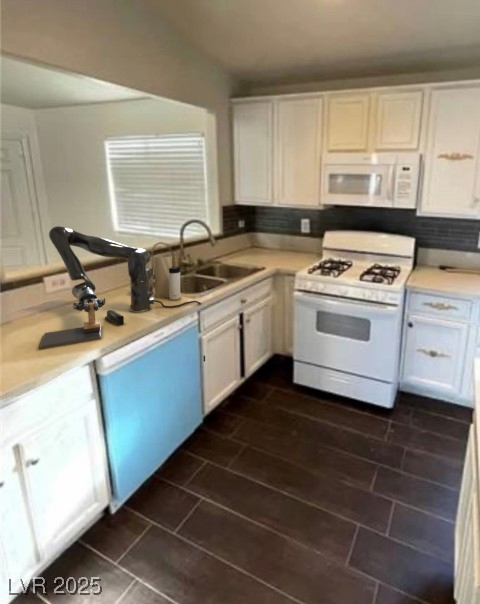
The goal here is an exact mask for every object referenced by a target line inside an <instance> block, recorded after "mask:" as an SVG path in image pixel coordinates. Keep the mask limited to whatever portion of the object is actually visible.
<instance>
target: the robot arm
mask: <svg viewBox="0 0 480 604" xmlns="http://www.w3.org/2000/svg"><path fill="white" fill-rule="evenodd" d="M48 238H49V240H50V241H51V243H52V245H53V246H54V248H55V249H56V251H57V253H58V254H59V256H60V258H61V260H62V262H63V264H64V266H65V268H66V271H67V273H68V275H69V278H70V280H71V281H73V282H75V281H83V282H80V283H78V284H75V285H74V286H73V287H72V288H71V295H73V297H74V298H75V299H77V302H73V303H72V308H73V310H76V311H80V312H82V311H84V312H85V313H87V314H88V312H89V307H88V303H94V306H95V312H97V311H98V310H99V309H100V308H101V309H102V308H103V307H104V305H105V304H106V297H105V298H104V297H103V298H101V299H100V298H98V296H97V294H96V293H95V292H96V285H95V283H94V282H93V281H92V279H90V278H89V276H88V275H87V273H86V271H85V269H84V266H83V264H82V262H81V260H80V259H79V258H78V256H77V255H76V253H75V252H74V251H73V249H72V247H77V248H79V249H82V250H84V251H86V252H88V253H90V254H93V255H97V256H100V257H104V258H111V259H112V258H113V259H124V260H127V272H128V276H129V282H130V284H129V286H130V287H129V289H130V311H131V312H132V313H143V312H147V311H150V310H151V305H155V303H157V304H160V305H161V307H163V308H167V309H173V308H179V307H182V306H184V305H189V304H192V303H197V304H198V305H201V304H202V303H201V302H200V301H199V300H190V301H185V302H182V303H180V304H175V305H165V304H164V303H163V302H162V301H160V300H156V299H154V297H151V295H150V293H149V274H148V273H146V268H147V265H148V264H149V263H150V262H151V258H152V256H151V253H150V252H149V251H147V250H146V249H143V248H139V247H133V246H128V245H125V244H121V243H119V242H116V241H113V240H109V239H106V238H102V237H99V236H94V235H87V234H85V233H82V232H78V231H76V230H74V229H72V228H69V227H66V226H61V225H57V226H54V227H52V228H50V230H49V233H48ZM71 246H72V247H71ZM203 362H206V355H203Z"/></svg>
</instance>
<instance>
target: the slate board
mask: <svg viewBox="0 0 480 604" xmlns="http://www.w3.org/2000/svg"><path fill="white" fill-rule="evenodd" d="M101 331H102V326H101V324H100V331H96V332H89V333H84V326H82V327H75V328H69V329H62V330H55V331H54V330H53V331H49V332H44V334H43V336H42V338H41V343H40V345H39V349H40V350H44V349H50V348H56V347H63V346H67V345H74V344H79V343H85V342H92V341H97V340H101V334H102V333H101Z"/></svg>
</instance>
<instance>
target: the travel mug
mask: <svg viewBox="0 0 480 604" xmlns="http://www.w3.org/2000/svg"><path fill="white" fill-rule="evenodd" d="M169 296H170V297H168V298H169V300H170V301H179V300H181V266H172V267H171V268H169Z"/></svg>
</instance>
